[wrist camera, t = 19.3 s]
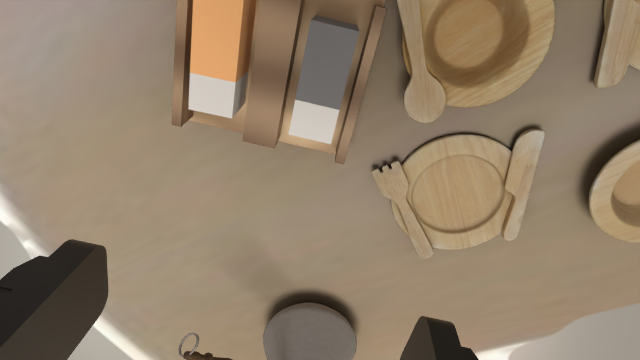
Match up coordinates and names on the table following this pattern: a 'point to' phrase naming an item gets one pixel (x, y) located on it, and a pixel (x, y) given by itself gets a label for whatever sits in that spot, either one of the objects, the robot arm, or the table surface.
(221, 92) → the orange white rectangular block
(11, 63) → the table surface
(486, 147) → the tableware set
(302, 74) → the two-tone square pillar
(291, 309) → the coffee pot
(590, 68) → the table surface
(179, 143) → the table surface
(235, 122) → the brown wooden divided tray
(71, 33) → the table surface
